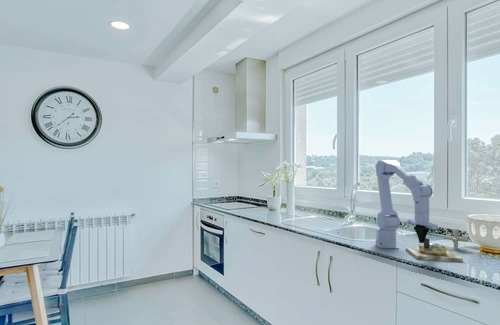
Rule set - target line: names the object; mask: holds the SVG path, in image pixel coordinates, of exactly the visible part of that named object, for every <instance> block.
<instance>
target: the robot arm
mask: <svg viewBox="0 0 500 325" xmlns="http://www.w3.org/2000/svg"><path fill="white" fill-rule="evenodd" d="M375 171H376V174H375V175H376V178H377V184H378V193H379V200H380V208H381V210H380V211H379V212H378V213H377V220H376V223H377V226H378V228H376V230H375V245H376V246H377V247H378V248H379V249H380V248H381V249H397V250H398V249H400V247H399V246H397V230H398V228H399V227H400V225H401V220H400V218H399V216H398V214H399V213H398V212H397V211H395V209H394V207H393V200H392V192H391V188H390V186H391V185H390V178H391V177H393V176H394V175H396V176H397V177H398V178H400V180H402V183H403V185H405V187H407V189H409V190H410V192H411V195H412V198H413V202H414V219H407V222H406V223H407V225H413V229H414V232H415V233H416V235H417V239H418V242H419V244H424V238H427V235H428V233H429V232H430V230H431V229H432V230H438V228H439V225H438V224H437V223H436V224H435V223H433V222H430V197H432V195H433V188H432V186H430V184H425V183H423V182H422V181H420V180H419V179H418V178H417V176H416V175H415V174H409V173H407V171H406V170H405V168H403V167H402V166H401V163H400V162H399V161H398V160H396V159H395V160H394V159H392V160H389V159H387V160H385V159H384V160H383V159H379V160H378V161H377V162H376V164H375Z"/></svg>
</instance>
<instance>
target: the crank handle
mask: <svg viewBox="0 0 500 325" xmlns="http://www.w3.org/2000/svg"><path fill="white" fill-rule="evenodd" d="M418 248H419V252H421V253H424V254H429V255H438V256H442V255H446V254H447V250H448V249H447V248H448V247H446V246H444V245H439V243H436V242H430V238H427V237H426V238H424V243H419V244H418Z"/></svg>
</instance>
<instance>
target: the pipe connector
mask: <svg viewBox="0 0 500 325" xmlns="http://www.w3.org/2000/svg"><path fill="white" fill-rule="evenodd" d="M443 239H444V240H446V241H447V240H449V241H452V243H453V249H454V250H458V249H459V242H464V243H469V238H467V237H460V236H459V229H458V228H453V236H452V235H451V236H449V235H443Z"/></svg>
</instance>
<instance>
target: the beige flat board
mask: <svg viewBox="0 0 500 325" xmlns="http://www.w3.org/2000/svg"><path fill="white" fill-rule="evenodd" d="M405 251H406V252H407V253H408V254H410V255H411V256H412V257H414V259H416V260H417V261H418V260H419V261H438V262H453V263H454V262H456V263H458V262H459V263H463V262H464V259H463V257H461V256H459V255H457V254H456V253H454V252H452V251H451V250H449V249H447V254H446V255H442V256H438V255H429V254H424V253H421V252H419V247H410V246H408V247H407V246H406V247H405Z"/></svg>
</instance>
